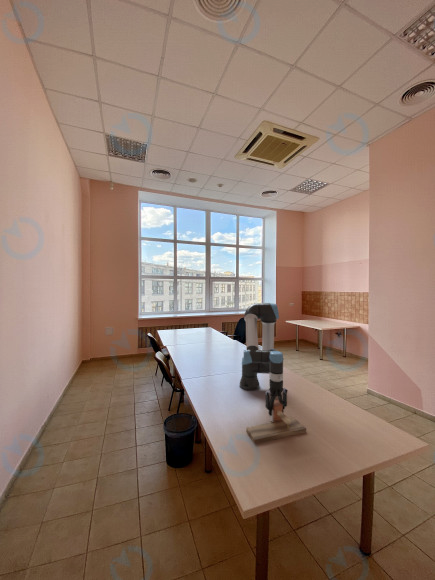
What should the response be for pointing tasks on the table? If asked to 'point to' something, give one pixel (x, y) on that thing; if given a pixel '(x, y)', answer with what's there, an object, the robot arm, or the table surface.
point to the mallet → (280, 413)
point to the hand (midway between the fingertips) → (276, 419)
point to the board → (274, 430)
